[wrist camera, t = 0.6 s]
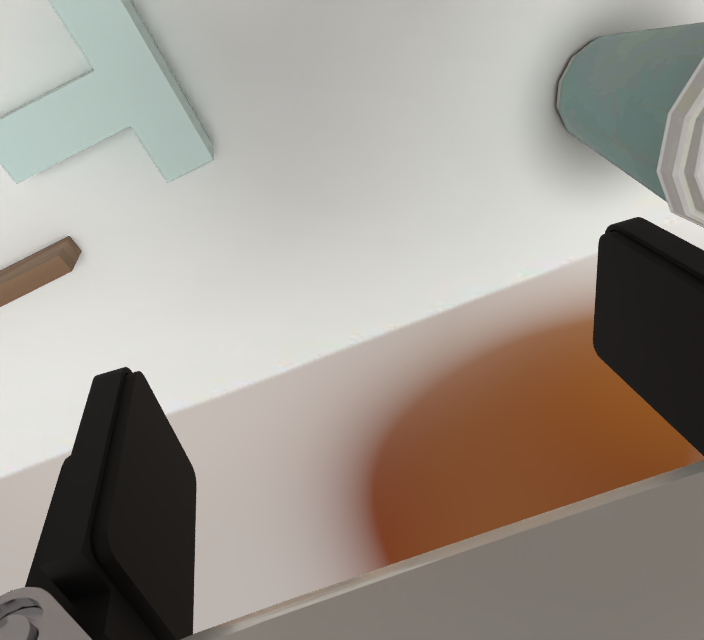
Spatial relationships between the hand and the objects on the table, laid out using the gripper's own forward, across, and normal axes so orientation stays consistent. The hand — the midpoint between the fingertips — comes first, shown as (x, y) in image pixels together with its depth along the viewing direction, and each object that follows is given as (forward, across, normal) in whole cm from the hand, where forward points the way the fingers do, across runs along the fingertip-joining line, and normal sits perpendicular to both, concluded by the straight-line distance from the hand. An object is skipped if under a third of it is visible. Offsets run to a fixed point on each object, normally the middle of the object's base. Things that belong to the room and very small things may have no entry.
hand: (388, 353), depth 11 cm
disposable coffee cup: (+28, -23, +4) cm, 36 cm away
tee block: (+27, +10, -2) cm, 29 cm away
